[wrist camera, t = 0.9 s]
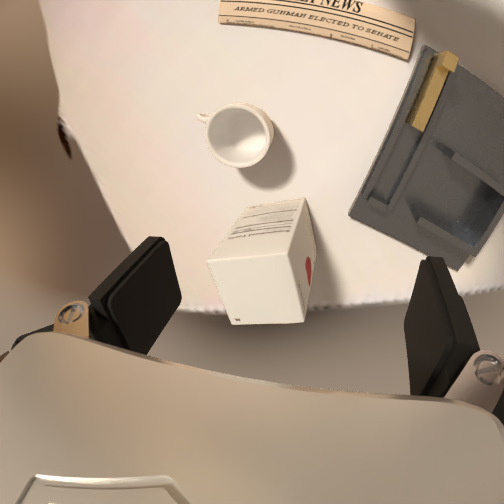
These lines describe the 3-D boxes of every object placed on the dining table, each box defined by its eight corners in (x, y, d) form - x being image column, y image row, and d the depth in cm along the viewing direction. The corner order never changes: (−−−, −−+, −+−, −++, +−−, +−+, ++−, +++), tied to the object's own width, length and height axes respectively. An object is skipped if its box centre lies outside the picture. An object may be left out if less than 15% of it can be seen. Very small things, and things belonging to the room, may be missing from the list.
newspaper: (221, 23, 31) (216, 21, 30) (229, -21, 27) (225, -25, 26) (405, 60, 28) (408, 59, 26) (414, 13, 24) (417, 10, 23)
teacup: (288, 116, 35) (281, 121, 31) (264, 167, 40) (254, 179, 35) (218, 86, 35) (201, 87, 31) (199, 137, 40) (181, 145, 35)
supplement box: (318, 253, 44) (306, 325, 32) (261, 259, 48) (230, 327, 35) (306, 195, 40) (289, 253, 28) (244, 205, 44) (203, 262, 31)
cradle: (422, 45, 26) (434, 40, 21) (533, 127, 25) (552, 134, 20) (348, 212, 40) (348, 228, 36) (456, 267, 39) (465, 286, 35)
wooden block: (434, 53, 25) (447, 50, 21) (445, 60, 25) (459, 57, 21) (406, 122, 30) (415, 128, 27) (417, 128, 30) (427, 135, 26)
